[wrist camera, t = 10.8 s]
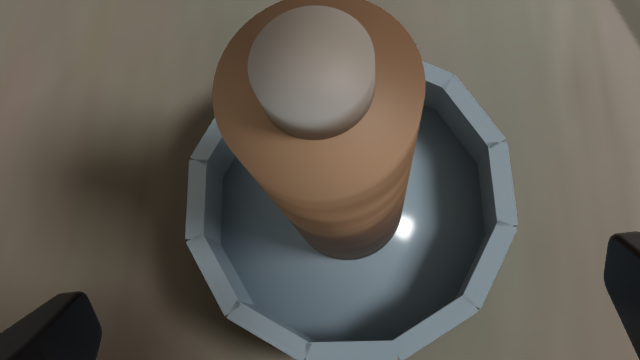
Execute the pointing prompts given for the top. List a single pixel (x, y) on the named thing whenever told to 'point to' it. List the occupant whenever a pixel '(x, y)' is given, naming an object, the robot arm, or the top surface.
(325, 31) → the brown cylinder
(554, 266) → the top surface
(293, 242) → the bowl
